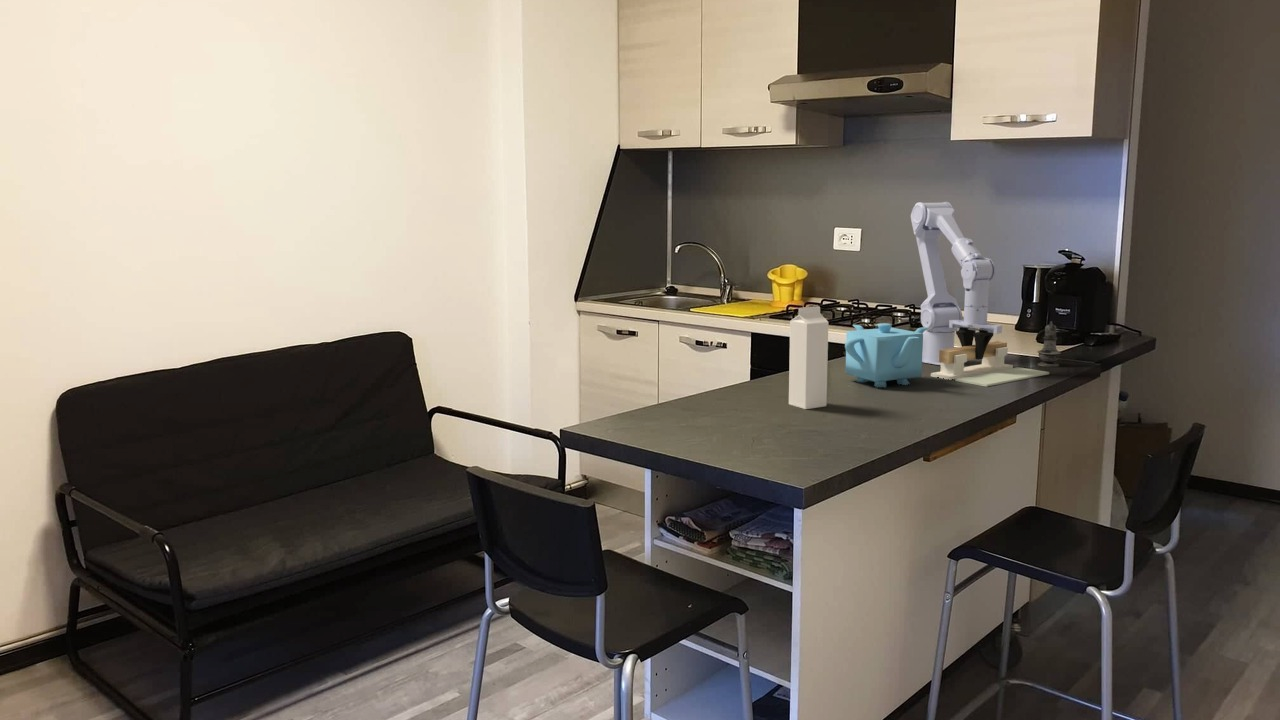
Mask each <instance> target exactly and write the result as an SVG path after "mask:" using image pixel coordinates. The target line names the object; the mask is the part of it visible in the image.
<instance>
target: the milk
mask: <svg viewBox="0 0 1280 720" xmlns="http://www.w3.org/2000/svg"><path fill="white" fill-rule="evenodd" d="M828 351H829V321H828V320H827V319H826V318H825V316H823V314H822V313H821V307H820V305H819V306H810V307H809V306H807V307H799V308H798V314H797V316H795V317H794V318H792V319H791V320H789V361H788V362H789V368H788V369H789V371H788V372H789V373H788V374H789V375H788V382H789V383H788V405H789V406H793V407H796V408H800V409H802V410H810V409H816V408H823V407H827V399H828V398H827V397H828V396H827V394H828V393H827V392H828V356H829V355H828Z"/></svg>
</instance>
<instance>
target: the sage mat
mask: <svg viewBox="0 0 1280 720" xmlns="http://www.w3.org/2000/svg"><path fill="white" fill-rule="evenodd" d="M1046 375H1050V371H1045V370H1038V369H1031V368H1026V367H1025V368H1024V367H1020V366H1019V367H1013V368H1011V369H1005V370H1000V371H995V372H989V373H984V374H979V375H973V376H968V377H963V378H957V379H954V380H955V382H960V383H966V384H970V385H976V386H982V387H991V386H996V385H997V386H998V385H1001V384H1006V383H1012V382H1017V381H1020V380H1021V381H1023V380H1026V379H1027V380H1028V379H1031V378H1036V377H1042V376H1046Z"/></svg>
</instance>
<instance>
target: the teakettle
mask: <svg viewBox="0 0 1280 720" xmlns="http://www.w3.org/2000/svg"><path fill="white" fill-rule="evenodd" d="M892 325H893V324H892V323H887V322H885V323H877V326H878V327H877V328H869V329H865V328H864V327H863V326H862V325H859V324H852V327H854V329H855V330H847V331H846V338H845V339H846V340H845V341H846V342H844V343H845V344H844V349H845V375H849V376H852V377H856V378H857V379H855V380H856V381H855V382H857V383H868V382H873V383H874V384H873V387H874V386H875V387H874V388H878V387H884V388H887V381H895V380H896V383H897V384H898V385H900V384H902V385H903V386H909V385H911V384H910V381H909V380H908V379H915V378H922V372H923V370H922V369H923V362H922V352H923V332H924V331H925V330H927V329H928V328H929V327H923V326H922V327H918V328H916V330H915V331H912V330H906V329H901V328H895V327H892ZM908 384H909V385H908ZM902 385H901V386H902Z"/></svg>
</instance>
